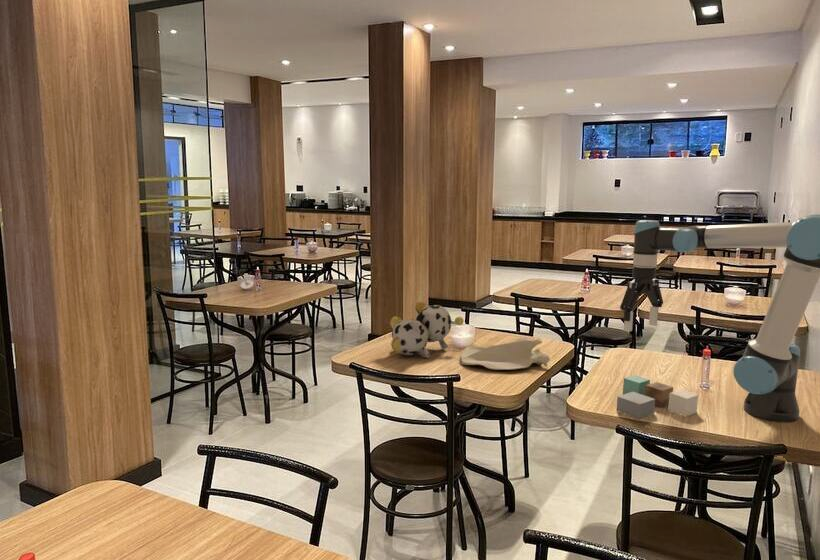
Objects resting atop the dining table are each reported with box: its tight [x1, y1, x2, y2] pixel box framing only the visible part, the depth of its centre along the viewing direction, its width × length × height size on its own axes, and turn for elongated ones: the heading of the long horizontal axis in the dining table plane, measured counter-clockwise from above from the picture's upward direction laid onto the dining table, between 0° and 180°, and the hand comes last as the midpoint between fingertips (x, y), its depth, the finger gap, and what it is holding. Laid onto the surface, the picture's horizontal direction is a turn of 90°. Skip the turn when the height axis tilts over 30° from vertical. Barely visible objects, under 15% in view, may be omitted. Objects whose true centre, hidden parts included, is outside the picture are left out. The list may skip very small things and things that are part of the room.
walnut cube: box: [645, 381, 674, 409], centre depth 198 cm, size 6×6×6 cm
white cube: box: [667, 388, 699, 417], centre depth 191 cm, size 6×6×6 cm
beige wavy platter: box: [459, 337, 550, 371], centre depth 238 cm, size 36×21×11 cm, turn 66°
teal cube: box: [622, 374, 651, 395], centre depth 205 cm, size 6×6×6 cm
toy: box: [389, 300, 464, 359], centre depth 252 cm, size 21×33×20 cm
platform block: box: [616, 392, 656, 420], centre depth 190 cm, size 8×8×5 cm
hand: (640, 327), depth 207 cm, fingers open, 13 cm apart
